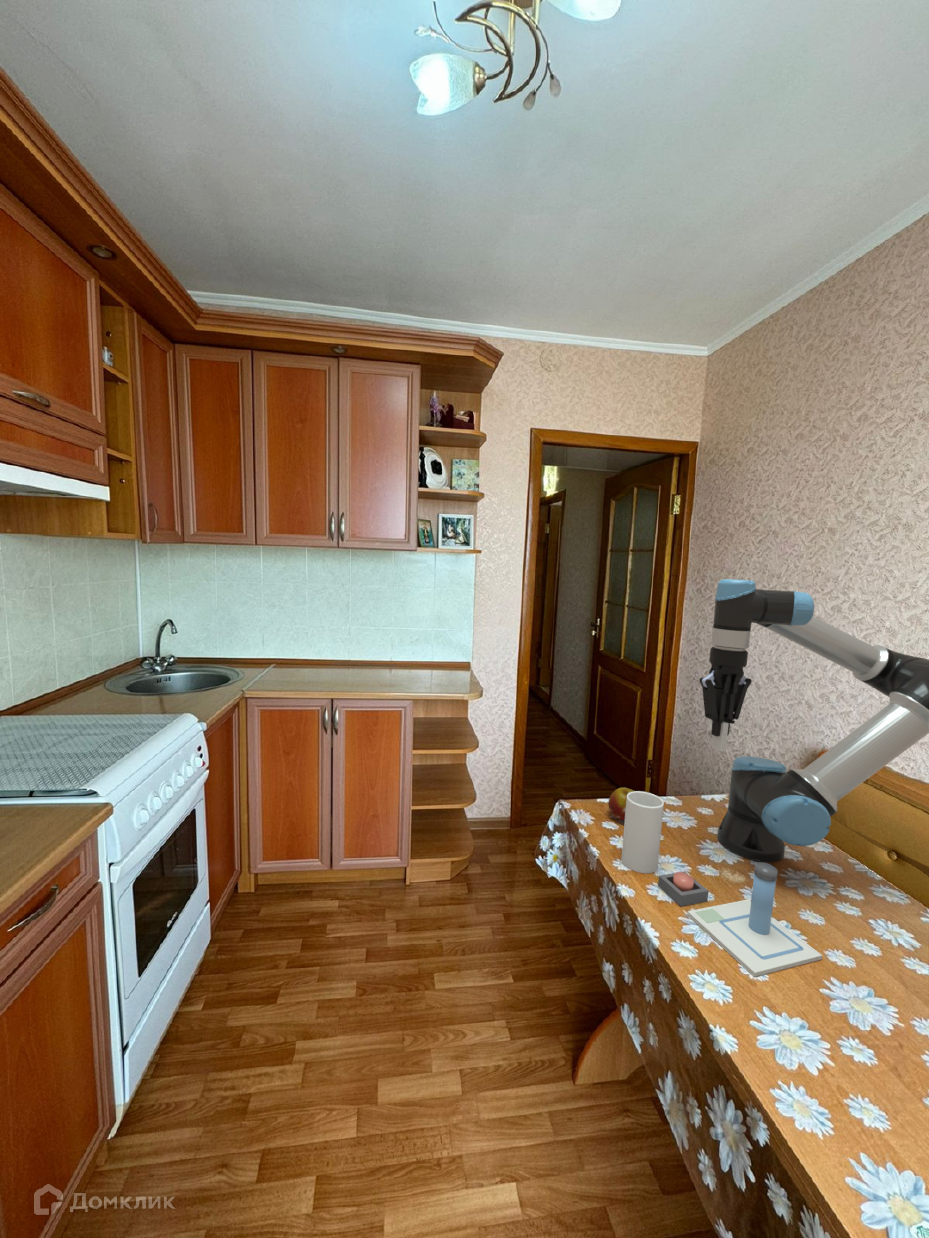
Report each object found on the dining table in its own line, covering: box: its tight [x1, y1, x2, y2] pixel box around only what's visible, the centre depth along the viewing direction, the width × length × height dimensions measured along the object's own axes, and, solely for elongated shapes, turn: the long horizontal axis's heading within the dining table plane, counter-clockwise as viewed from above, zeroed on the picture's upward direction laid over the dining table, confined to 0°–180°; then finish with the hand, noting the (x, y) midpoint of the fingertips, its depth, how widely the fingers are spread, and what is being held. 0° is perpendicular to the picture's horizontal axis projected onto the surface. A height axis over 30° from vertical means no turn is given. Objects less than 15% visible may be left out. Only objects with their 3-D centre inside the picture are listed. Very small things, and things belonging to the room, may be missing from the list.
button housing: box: [657, 870, 709, 907], centre depth 109 cm, size 7×7×2 cm
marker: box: [748, 861, 779, 935], centre depth 97 cm, size 4×4×12 cm
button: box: [673, 871, 694, 892], centre depth 108 cm, size 4×4×2 cm
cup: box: [620, 790, 665, 874], centre depth 119 cm, size 8×8×16 cm
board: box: [686, 899, 823, 978], centre depth 97 cm, size 16×16×1 cm
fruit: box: [608, 787, 635, 822], centre depth 141 cm, size 10×9×8 cm
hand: (718, 749), depth 115 cm, fingers closed
